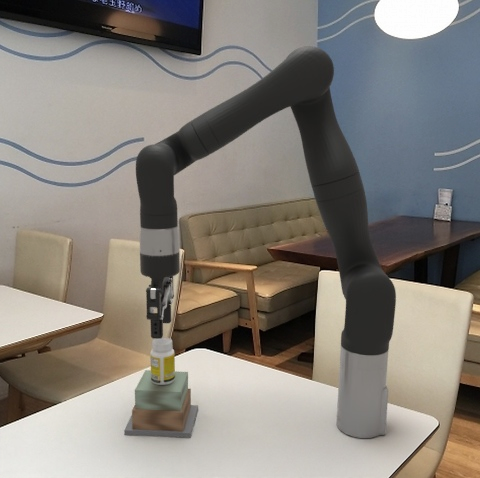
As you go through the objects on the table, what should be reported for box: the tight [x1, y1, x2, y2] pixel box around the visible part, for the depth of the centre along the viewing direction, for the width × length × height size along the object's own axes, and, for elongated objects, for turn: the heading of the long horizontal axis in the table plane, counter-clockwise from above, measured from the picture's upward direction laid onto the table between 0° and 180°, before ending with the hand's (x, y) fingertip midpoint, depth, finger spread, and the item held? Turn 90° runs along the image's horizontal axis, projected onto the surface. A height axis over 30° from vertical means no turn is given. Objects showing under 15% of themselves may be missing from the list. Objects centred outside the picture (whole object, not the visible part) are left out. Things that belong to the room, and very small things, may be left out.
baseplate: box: [123, 404, 199, 439], centre depth 111 cm, size 13×11×1 cm
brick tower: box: [131, 369, 192, 431], centre depth 110 cm, size 10×10×8 cm
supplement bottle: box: [149, 337, 176, 385], centre depth 108 cm, size 5×5×8 cm
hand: (161, 330), depth 107 cm, fingers open, 8 cm apart
